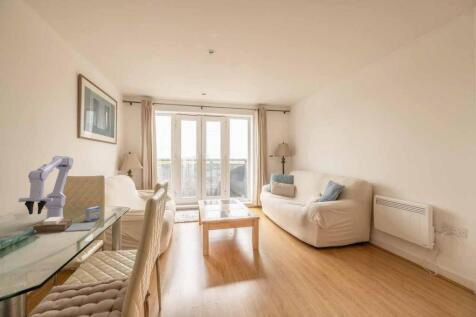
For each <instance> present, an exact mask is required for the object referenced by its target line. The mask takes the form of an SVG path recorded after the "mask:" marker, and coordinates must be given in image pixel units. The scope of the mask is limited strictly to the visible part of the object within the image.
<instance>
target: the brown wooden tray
mask: <svg viewBox="0 0 476 317" xmlns="http://www.w3.org/2000/svg"><path fill="white" fill-rule="evenodd" d="M45 220H46V219H43V220H41V221H40V222H39V223H36V224H34V225H33V229H32V231H33V230H36V231H37V232H36V233H35V234H44V233H46V234H47V233H60V232H65V230H66V229H68V228H69V227H70V226H71V225H72V224H73V223H72V222H73V218H63V219H62V220H61V221H60V222H59V223H57V224H52V225H43V221H45Z"/></svg>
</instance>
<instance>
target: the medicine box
mask: <svg viewBox="0 0 476 317" xmlns="http://www.w3.org/2000/svg"><path fill="white" fill-rule="evenodd" d="M100 215H101V206H97V205H96V206H91V207H87V208H85V212H84V221H85V222H92V221H93V222H94V221H96V220H99V219H100V217H101V216H100Z"/></svg>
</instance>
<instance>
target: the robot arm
mask: <svg viewBox="0 0 476 317" xmlns="http://www.w3.org/2000/svg"><path fill="white" fill-rule="evenodd" d="M73 164H74V159H73V157H72V156H68V155H67V156H63V155H55V156H53V157H52V160H51V161H50V162H49V163H44V164H43V165H42V166H40V167H39V168H37V169H33V170H31V171H30V172H29V173H28V176H27V178H28V180H29V181H28V182H29V184H30V186H29V197H21V198H18V203H22V202H23V203H24V206H25V207H26V208H27V210H28V214H29V215H33V214H34V207H35V203H37V215H40V214H42V211H43V209H44V207H45V208H46V219H48V218H50V217H62V219H65V217H64V216H63V213H64V212H63V211H64V210H63V209H64V208H63V207H64V206H65V205H66V199H67V196H66V194H64V193H63V191H64V188H65V185H66V181H67V178H68V174H69V171H70V170H72V168H73ZM54 168H56V169H57V170H59V171H58V174H57V177H56V180H55V182H54V187H53V189H52V192H50V193H49V194H47V195H46V197H44V192H45V181H46V180H47V178H48V177H49V174H51V173H53V171H54ZM46 219H45V220H46Z"/></svg>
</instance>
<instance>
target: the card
mask: <svg viewBox="0 0 476 317" xmlns="http://www.w3.org/2000/svg"><path fill="white" fill-rule="evenodd" d="M62 217H63V216H62ZM62 217H50V218H48V219H44V220H45V221H43V220H42V221H43V225H52V224H57V223H59V222H60V221H61V220H62Z"/></svg>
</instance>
